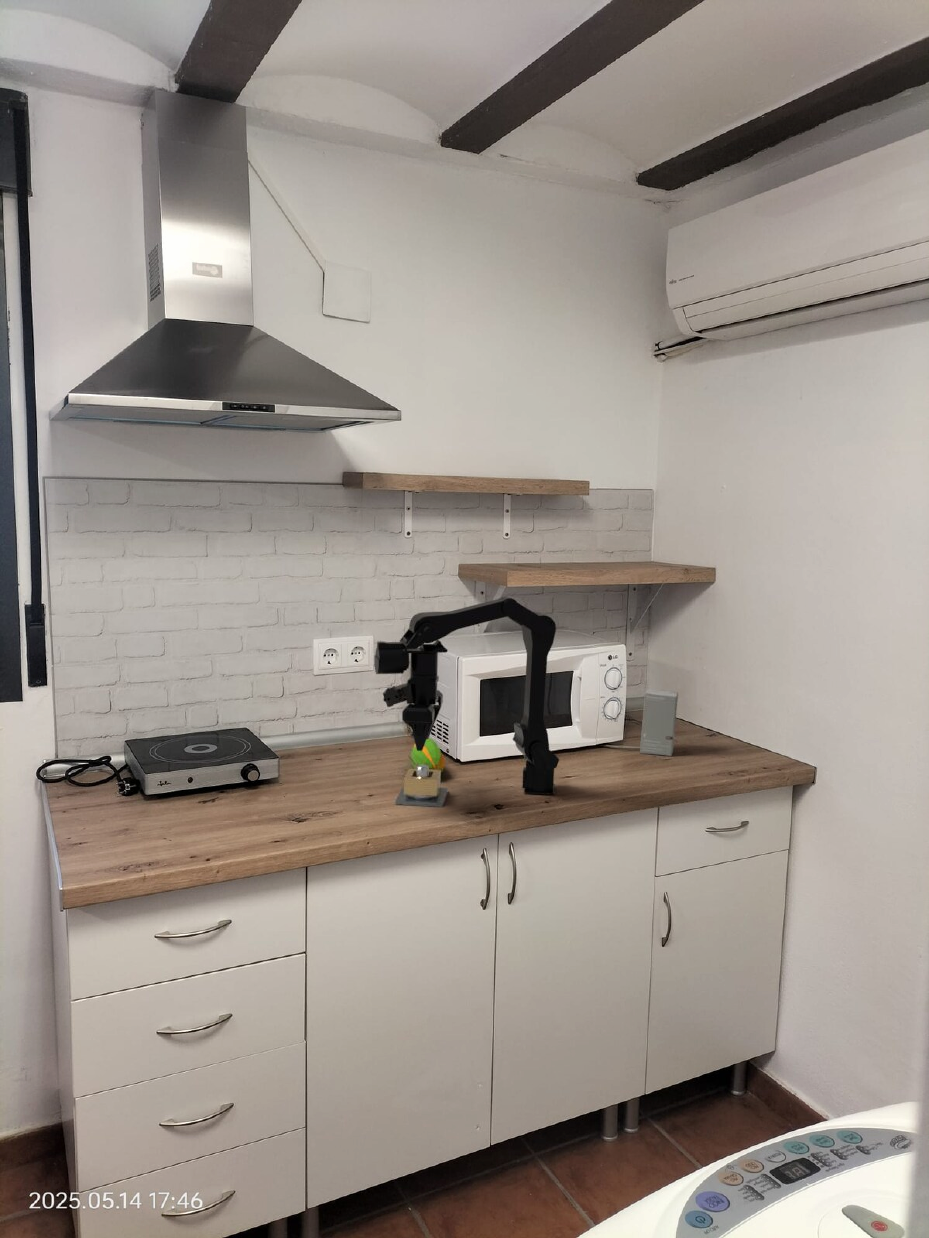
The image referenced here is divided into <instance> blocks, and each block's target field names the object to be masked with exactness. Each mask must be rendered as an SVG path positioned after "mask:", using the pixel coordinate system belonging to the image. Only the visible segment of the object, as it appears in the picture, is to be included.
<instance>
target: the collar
mask: <svg viewBox="0 0 929 1238" xmlns="http://www.w3.org/2000/svg"><path fill="white" fill-rule="evenodd" d="M441 774H442V773H441V770H430V769H429V777H417V769H414V768H408V769H407V772H406V774H405V776H404V778H403V786H404V794H408V795H429V796H437V794H438V791H439V788H441V777H442V776H441Z"/></svg>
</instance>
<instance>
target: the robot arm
mask: <svg viewBox="0 0 929 1238" xmlns="http://www.w3.org/2000/svg"><path fill="white" fill-rule="evenodd" d="M502 618H503V619H504V618H509V620H511V621H512V622H515V623H516V624H518V625H519V626H520V627H521V632H522V633H521V634H522V640H523V643H524V646H525V651H526V665H525V666H526V667H525V684H524V685H525V686H524V699H523V701H524V703H523V715H522V719H521V721H520V722H519V723H518V722H514V723H513V728H514V729H513V731H514V734H513V737H512V741H513V742H514V743H515V747H516V748H517V750H518V751H520V753H522V755H523V757H524V759H525V766H523V768H522V789H524V790H523V793H524V794H525V795H527V794H530V795H531V794H532V795H546V796H547V795H550V796H551V795H554V794H555V785H554V783H555V781H554V780H555V769H557V767H558V764H559V762H560V759H559V757H557V755H556V754H554V752H552V751H551V749H550V742H549V734H548V730H547V726H546V722H545V703H546V689H547V688H546V685H547V672H548V671H547V667H548V656H549V653H550V651H551V649H552V646H553V644H554V641H555V636H556V632H557V627H556V626H557V624H556V622H555V621H554V620H553V619H552V617H550V616H548V615H547V614H544V613H541V612H539V611H533V610H530V609H528V608H527V607H525V606H523V604H520V603H519V602H517V600H516V599H515V598H512V597H509V596H501V597H499V598H497V599H493V600H489V601H485V602H482V603H478V604H475V605H470V606H466V607H465V606H464V607H462V608H458V609H453V610H449V611H425V612H418V613H416V614H414V615H413V616H412V617H411V619H410V620H409V627H408V629H407V630H406V632H405V633H404V634H403V635H402V637H401V638H400V639H399V641H391V642H388V641H387V642H386V641H377V642H376V647H375V648H376V649H375V654H374V659H373V660H374V671H375V674H376V675H397V674H399V675H400V674H402V675H403V674H404V672H405V671H407V670H409V667H410V673H409V674H410V675H409V676H410V677H409V678H408V679H407V682H406V683H402V684H399V685H396V686H395V685H393V686H391V687H387V688H386V689H385V690H384V691H383V692H382V695H383V700H382V701H383V702H384V703H385V704H386V706H387V708H391V707H393V706H394V705H398V704H400V703H401V704H402V703H403V702H406V704H407V706H406V707H404V709H403V710H402V712H401V715H402V718H401V719H402V721H403V723H405V724H406V725H407V726H409V727H410V728H411V731H412V732H411V733H412V735H413V739H414V745H415V744H416V748H417V751H422V750H423V747H424V745H425V742H426V740H427V739H428V738H430V735H431V733H432V730H433V728H434V725H435V723H436V720H437V718H438V715H439V713H440V711H441V708H442V704H443V703H444V702H443V701H444V700H443V699H444V698H443V697H444V694H443V693H442V692H441V691H440V690H439V689H438V682H439V677H440V676H439V675H438V661H439V659H438V657H439V654H442V653H448V649H447V648H446V647H445V646H444V645H443V643H442V642H441V641H440V640H441V639H443V638H445V637H446V636H449V635H450V634H451V633H453V632H455V631H457V630H461V629H464V628H465V629H466V628H468V627H472V626H476V625H480V624H484V623H488V622H491V621H495V620H499V619H502Z"/></svg>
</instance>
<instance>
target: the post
mask: <svg viewBox="0 0 929 1238" xmlns="http://www.w3.org/2000/svg"><path fill="white" fill-rule="evenodd" d="M416 767H417V777H429V766H428V765H418V764H417V765H416ZM448 792H449V788H448V787H440V788H439V791H438V794H437V796H429V795H408V794H404V785H403V786H402V788H401V790H400V791H399V793H398V794H397V797H396V799H395V802H394V803H395V805H396V804H402V805H403V806H419V807H420V806H421V807H438V808H439V807H440V808H443V806H444V804H445V801H446V798H447V795H448V794H449V793H448ZM402 805H401V806H402Z"/></svg>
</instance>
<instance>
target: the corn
mask: <svg viewBox="0 0 929 1238" xmlns="http://www.w3.org/2000/svg"><path fill="white" fill-rule="evenodd" d="M413 745H414V746H413V747H412V751H411V756H410V755H408V758H409V761H410V763H411V766H412V767H413V769H417V766H418V765H428V766H429V769H430V770H441V774H442V773H443V771H445V770H446V769H445V764H446V760H445V759H446V758H445V756H444V754H443V753H442V752H441V749H440V747H439V745H438V744H437V742H436V741H435V740H434V739H432V738H430V737H429V738H428V739H427V740H426V742H425V745H424V747H423V750H422V751H417V748H416V744H415V743H414V744H413ZM416 764H417V765H416Z"/></svg>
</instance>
